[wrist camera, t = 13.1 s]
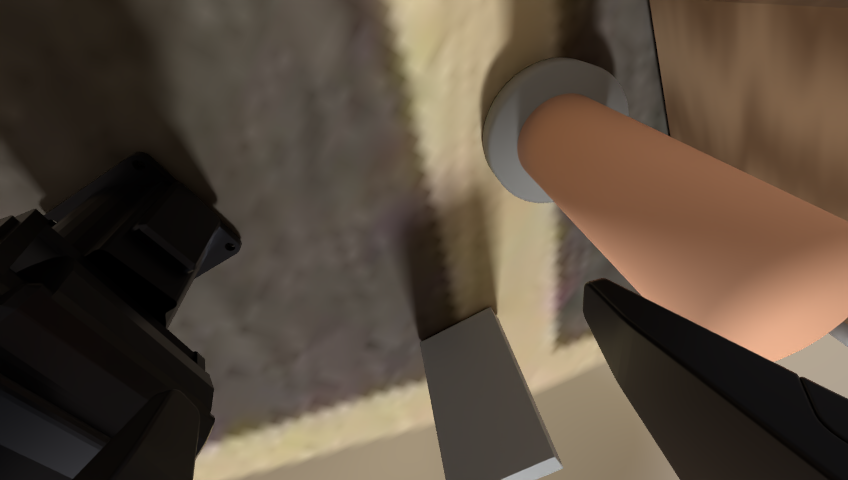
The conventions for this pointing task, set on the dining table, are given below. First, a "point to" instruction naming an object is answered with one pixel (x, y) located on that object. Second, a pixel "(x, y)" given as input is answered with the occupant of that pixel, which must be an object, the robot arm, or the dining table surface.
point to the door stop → (670, 211)
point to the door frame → (484, 405)
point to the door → (762, 91)
